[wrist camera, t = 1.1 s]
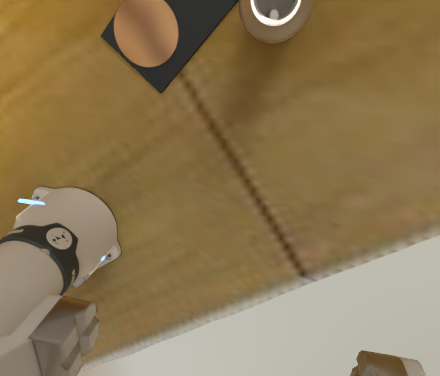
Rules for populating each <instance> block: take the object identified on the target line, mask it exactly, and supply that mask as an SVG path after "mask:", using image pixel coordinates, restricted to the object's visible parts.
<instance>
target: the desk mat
mask: <svg viewBox="0 0 440 376" xmlns="http://www.w3.org/2000/svg"><path fill="white" fill-rule="evenodd" d="M164 1H165V2H166V3H167V4H168V5H169V6H170V8H171V9H172V11H173V13H174V15H175V17H176V19H177V23H178V28H179V39H178V44H177V47H176V50H175V52H174V53H173V55H172V56H171V57H170V59H169V60H167V61H166V62H165V63H163V64H161V65H159V66H155V67H143V66H140V65H137V64H135V63H133V62H132V61H130V60H129V59H128V58H127V57H126V56H125V55H124V54H123V52H122V51H121V50H120V48H119V46H118V44H117V41H116V38H115V34H114V19H115V15H116V14H115V15H114V17H113V18H112V20H111V21H110V23H109V24H108V26H107V27H106V29H105V30H104V32H103V33H102V35H101V37H102V38H103V39H104V40H105V41H106V42H107V43H108V44H109V45H111V46H112V47H113V48H114V49H115V50H116V51H117V52H118V53H119V54H120V55H121V56H122V57H123V58H124V59H125V60H126V61H127V62H128V63H129V64H130V65H131V66H132V67H133V68H134V69H136V70H137V71H138V72H139V73H140V74H141V75H142V76H143V77H144V78H145V79H146V80H147V81H148V82H149V83H150V84H151V85H152V86H153V87H154V88H155V89H156V90H157V91H158V92H159V93H162V92H163V91H164V89H165V88H166V87H167V86H168V84H169V83H170V82H171V81H172V80H173V78H174V77H175V76H176V75H177V74H178V72H179V71H180V70H181V69H182V68H183V66H184V65H185V64H186V63H187V62H188V60H189V59H190V58H191V57H192V55H193V54H194V53H195V52H196V51H197V49H198V48H199V47H200V46H201V45H202V43H203V42H204V41H205V40H206V39H207V37H208V36H209V35H210V34H211V32H212V31H213V30H214V29H215V28H216V26H217V25H218V24H219V23H220V22H221V20H222V19H223V18H224V17H225V16H226V14H227V13H228V12H229V11H230V10H231V8H232V7H233V6H234V5H235V3H236V2H237V1H238V0H164Z"/></svg>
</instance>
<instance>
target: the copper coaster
mask: <svg viewBox="0 0 440 376" xmlns="http://www.w3.org/2000/svg"><path fill="white" fill-rule="evenodd" d="M114 34H115V38H116V41H117V44H118V46H119V48H120V50H121V51H122V52H123V54H124V55H125V56H126V57H127V58H128V59H129V60H130V61H132V62H133V63H135V64H137V65H140V66H143V67H155V66H159V65H161V64H163V63H165V62H166V61H167V60H169V59H170V57H171V56H172V55H173V53H174V52H175V50H176V47H177V44H178V39H179V28H178V23H177V19H176V17H175V15H174V13H173V11H172V9H171V8H170V6H169V5H168V4H167V3H166V2H165V1H164V0H124V1H123V2H122V3H121V4H120V6H119V8H118V9H117V12H116V15H115V19H114Z"/></svg>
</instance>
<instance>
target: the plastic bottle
mask: <svg viewBox="0 0 440 376" xmlns="http://www.w3.org/2000/svg"><path fill="white" fill-rule="evenodd" d="M313 3H314V0H239V12H240V17H241V20H242V23H243V25H244V27H245V28H246V30H247V31H248V32H249V34H251V35H252V36H253V37H254V38H255V39H257V40H259V41H261V42H263V43H267V44H276V43H280V42H283V41H286V40H288V39H290V38H292V37H293V36H295V35H296V34H297V33H298V32H299V31H300V30H301V29H302V28H303V26H304V25H305V24H306V22H307V20H308V18H309V16H310V14H311V11H312V8H313Z"/></svg>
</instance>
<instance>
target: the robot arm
mask: <svg viewBox="0 0 440 376" xmlns="http://www.w3.org/2000/svg"><path fill="white" fill-rule="evenodd" d="M18 202H21V203H28V204H29V206H28V207H27V208H26V209H24V210H23V211H22V212H21V213H19V214H18V215H17V216H16V221H15V223H14V227H13V231H11V232H9V233H7V234H6V235H5V236H3V237H2V238H1V239H0V376H77V374H78V372H79V371H80V369H81V367H82V366H83V362H82V357H83V356H85V355H86V354H88V353H90V352H91V350H92V348H93V347H94V345H95V343H96V340H97V337H98V334H99V320H98V319H97V318H96V317H95V316H94V315H95V314H96V312H97V306H96V303H94V302H90V301H85V300H80V299H76V298H71V297H66V296H62V295H63V294H64V293H65V292H66V291H68V289H69V288H70V287H71V286H72V285H73V286H74V287H75V288H77V287H79V286H80V285H81V284H82V283H83V282H84V281H85V280H87V279H88V278H89V277H90V276H91V274H92V273H93V272H94V271H95V270H97V269H98V268H100V267H102V266H103V265H105V264H107V263H109V262H110V261H112V260H114V259H116V258H117V257H118V256H119V255H120V254H121V248H120V246H119V243H118V241H117V226H116V222H115V219H114V216H113V214H112V213H111V211H110V210H109V208H108V207H107V206H106V205H105V204H104V203H103V202H102V201H101V200H100V199H99V198H98V197H96V196H95V195H93V194H91V193H89V192H87V191H85V190H82V189H78V188H72V187H66V188H59V189H52V188H48V187H38V188H37V189H36V190H35V191H34V193H33V196H32V198H31V200H26V199H20V200H18ZM110 254H111V255H110ZM357 362H358V366H356V367H355V368H353V369H352V372H351V375H350V376H426V375H425V373H424V370H423V368H422V366H421V364H420V363H419V362H418V361H417V360H413V359H407V358H401V357H396V356H392V355H386V354H380V353H374V352H368V351H361V352H359V354H358V356H357Z"/></svg>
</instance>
